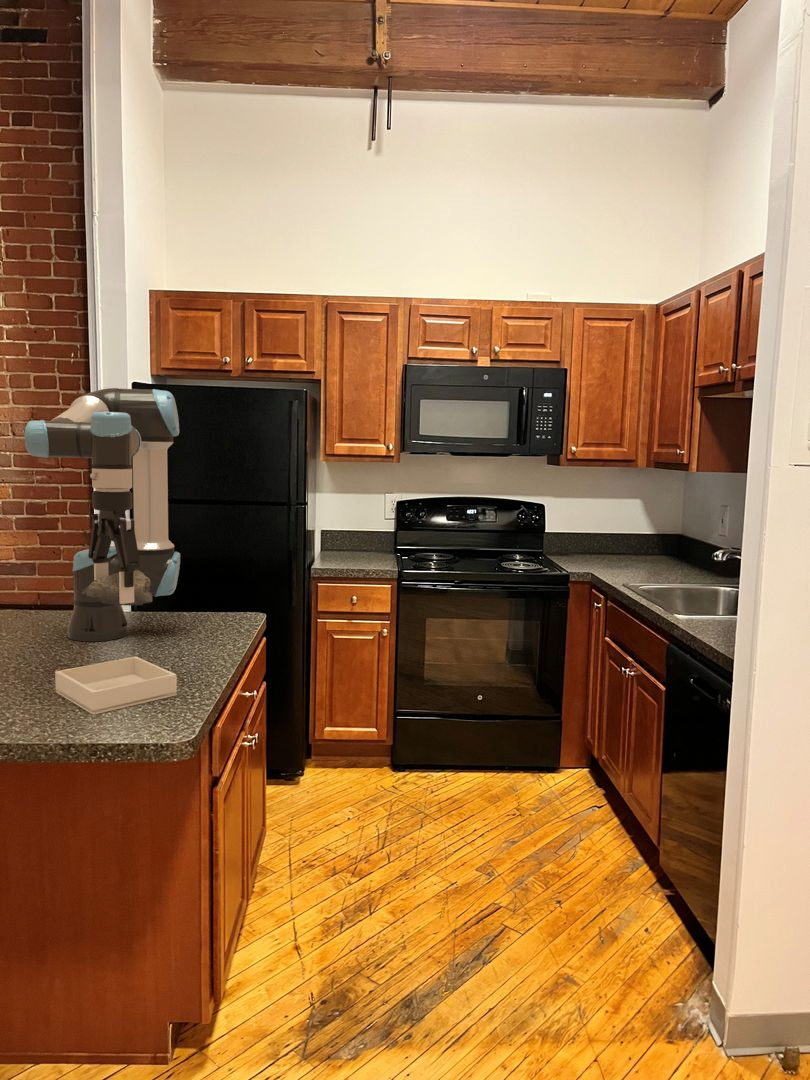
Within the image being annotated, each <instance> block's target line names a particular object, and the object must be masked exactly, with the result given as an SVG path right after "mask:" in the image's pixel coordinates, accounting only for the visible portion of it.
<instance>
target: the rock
mask: <svg viewBox="0 0 810 1080" xmlns="http://www.w3.org/2000/svg"><path fill="white" fill-rule="evenodd" d="M150 585H151V584H150V579H149V578H148V577H146V576H145V575H144V573H142V572H140V571H139V570H136V571H134V602H133V603H126V604H120V597H119V573H115V574H111V575H110V576H107V577H102V578H99V579H96V580H94V581H93V582H92V583H91V584H90V585H89V586H88V587H86V588H85V589H83V592H82V594H87V596H88V595H89V596H90V597H93V598H96V599H97V600H98V601H101V602H102V603H105V604H111V605H122V606H125V607H126V606H128V607H129V606H135V607H137V606H138V607H139V606H142V607H143V605H144V604H150V603H152V602H153V596H152V595H151V592H150Z"/></svg>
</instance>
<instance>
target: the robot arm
mask: <svg viewBox="0 0 810 1080" xmlns="http://www.w3.org/2000/svg"><path fill="white" fill-rule="evenodd" d="M179 421H180V419H179V414H178V408H177V404H176V399H175V397H174V395H173V394H172V393H171V392H170V391H168V390H160V389H155V388H154V389H150V388H149V389H143V388H142V389H141V388H140V389H139V388H117V387H111V388H103V389H98V390H94V391H91V392H88V393H85V394H83V395H81V396H79V397H77V398H76V399H74V401H72V402H71V404H70V406H69V408H68V409H66V410H65V411H64V412H62V413H60V414H59V415H58V416H56V417H54V418H52V419H51V420H44V419H40V420H30V421H28V422H27V424H26V426H25V428H24V429H25V430H24V444H25V449H26V451H27V454H29V455H30V456H32V457H39V458H46V459H47V458H70V459H71V458H73V459H74V458H75V459H76V458H77V459H79V458H80V459H91V473H90V474H89V477H90V479H91V485H92V488H93V489H95V490H93V491H92V493H91V501H92V503H91V504H92V505H91V507H92V509H93V510H96V511H99V513H92V515H91V524H92V525H91V530H90V531H91V533H90V540H89V547H88V548H87V549H84V550H81V551H77V553H75V554H74V556H73V564H72V575H73V576H72V577H73V580H72V581H73V582H72V583H73V610H72V614H71V616H70V619H69V622H68V625H67V638H68V639H69V640H73V641H78V642H106V641H111V640H116V639H120V638H124V637H126V636H127V635H129V633H130V631H129V629H130V628H129V622H128V620H127V617H126V615H125V611H124V609H123V605H111V604H105V603H102V602H101V601H98V600H97V599H96V598H93V597H90V596H89V595H88V596H87V594H82V592H83V589H85V588H86V587H88V586H89V585H90V584H91V583H92V582H93V581H94V580H96V579H99V578H102V577H107V576H110V575H111V574H115V573H119V597H120V604H126V603H133V602H134V571H136V570H139V571H140V572H142V573H144V575H145V576H146V577H148V578H149V579H150V584H151V585H150V592H151V595H152V597H162V596H163V597H164V596H170V595H172V594H174V593H175V590H176V588H177V585H178V579H179V574H180V567H181V566H180V565H181V553H180V552H178V551H175V544H174V543H172V541H171V540H170V539H169V501H168V499H169V497H168V496H169V493H168V492H169V489H168V487H169V486H168V484H169V483H168V482H169V481H168V449H169V448H170V447H171V446H172V445H173V444H174V437H178V436H179V434H180V423H179ZM130 489H133V493H132V491H130ZM132 509H133V518H127V516H126V511H130V510H132ZM112 542H113V544H114V545H112Z"/></svg>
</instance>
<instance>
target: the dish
mask: <svg viewBox="0 0 810 1080" xmlns="http://www.w3.org/2000/svg"><path fill="white" fill-rule="evenodd" d="M54 677H55V678H54V681H55V682H54V683H55V684H54V685H55V693H56V694H58V695H60V696H61V697H63V698H65V699H66V700H67V701H69V702H71V703H73V704H75V705H76V706H78V707H80V708H81V709H82V710H84V711H85V712H88V713H90V714H91V715H98V714H99V715H100V714H102V713H106V712H107V713H108V712H111V711H116V710H119V709H124V708H128V707H132V706H136V705H141V704H145V703H149V702H154V701H158V700H161V699H166V698H171V697H175V696H178V692H177V691H178V690H177V689H178V688H177V681H178V680H177V679H178V677H177V674H176V673H174V672H171V671H170V670H167V669H166V668H163V667H161V666H158V665H156V664H154V663H152V662H149V661H147V660H144V659H143V658H141V657H138V656H136V655H135V656H130V657H125V658H121V659H115V660H114V659H113V660H108V661H104V662H103V661H102V662H99V663H93V664H88V665H83V666H77V667H72V668H67V669H62V670H55V671H54Z"/></svg>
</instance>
